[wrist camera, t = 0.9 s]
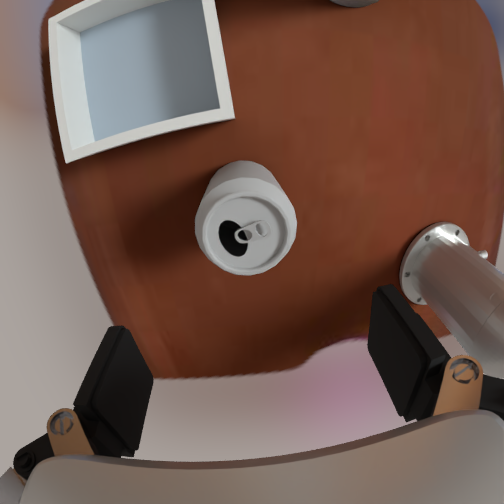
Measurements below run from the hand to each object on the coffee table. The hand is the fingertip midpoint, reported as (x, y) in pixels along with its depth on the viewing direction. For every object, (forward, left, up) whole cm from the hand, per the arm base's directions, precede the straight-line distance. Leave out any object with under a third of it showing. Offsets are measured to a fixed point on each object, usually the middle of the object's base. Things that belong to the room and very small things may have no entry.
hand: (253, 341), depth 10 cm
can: (0, 0, -22) cm, 23 cm away
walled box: (+7, -16, -22) cm, 28 cm away
